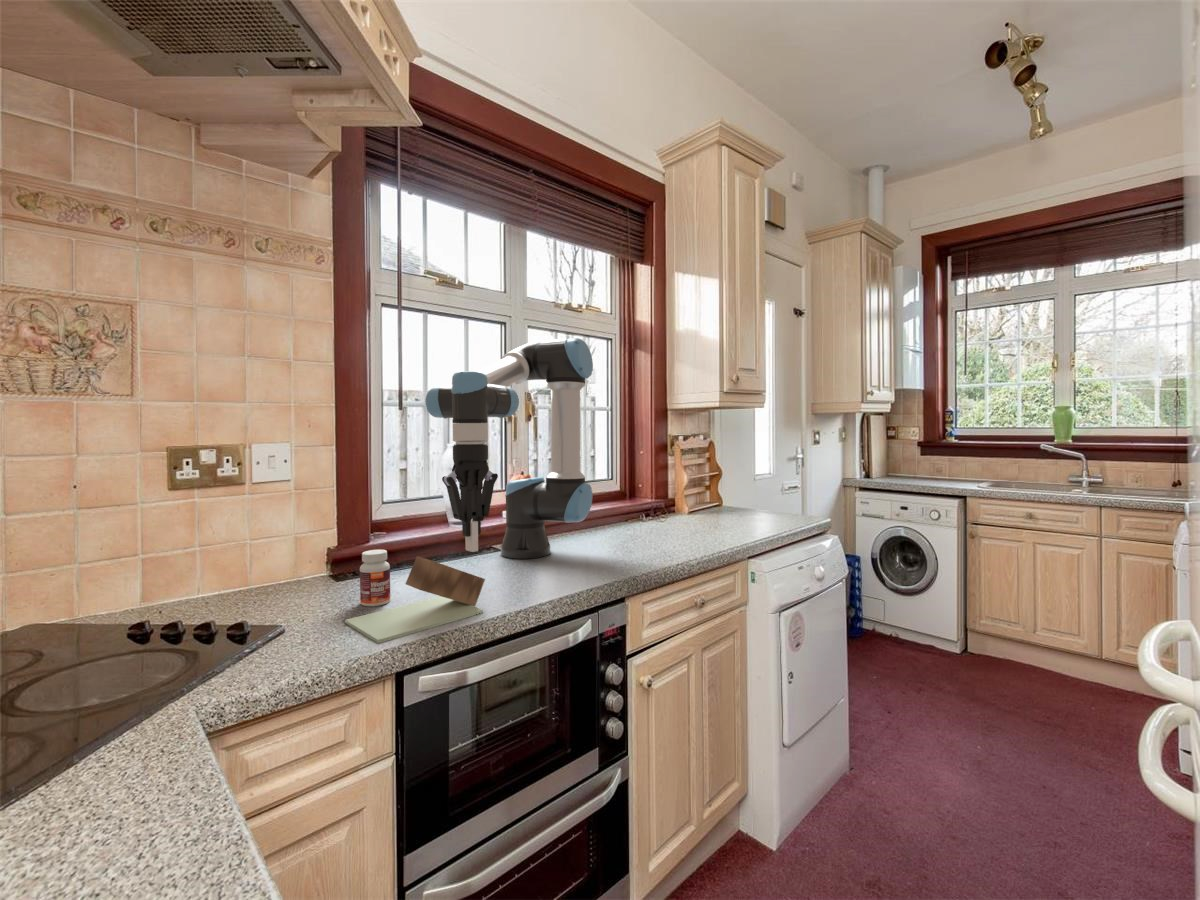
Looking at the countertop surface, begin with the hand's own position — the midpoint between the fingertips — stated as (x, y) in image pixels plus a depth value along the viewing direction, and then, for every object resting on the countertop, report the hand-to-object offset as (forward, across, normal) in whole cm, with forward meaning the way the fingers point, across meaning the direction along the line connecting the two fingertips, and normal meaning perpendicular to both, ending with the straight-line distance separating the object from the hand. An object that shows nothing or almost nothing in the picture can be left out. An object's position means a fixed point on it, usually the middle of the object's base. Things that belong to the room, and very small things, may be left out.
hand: (471, 550), depth 119 cm
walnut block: (+9, 0, 0) cm, 9 cm away
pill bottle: (+12, +15, -16) cm, 25 cm away
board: (+12, +13, 0) cm, 18 cm away
